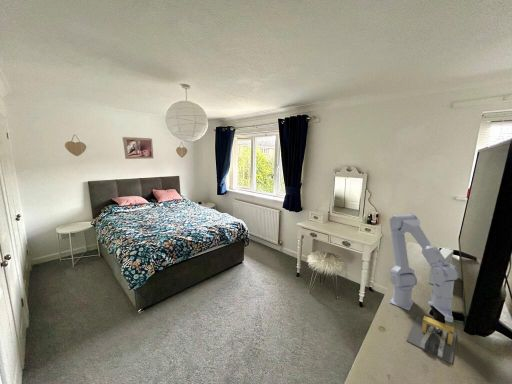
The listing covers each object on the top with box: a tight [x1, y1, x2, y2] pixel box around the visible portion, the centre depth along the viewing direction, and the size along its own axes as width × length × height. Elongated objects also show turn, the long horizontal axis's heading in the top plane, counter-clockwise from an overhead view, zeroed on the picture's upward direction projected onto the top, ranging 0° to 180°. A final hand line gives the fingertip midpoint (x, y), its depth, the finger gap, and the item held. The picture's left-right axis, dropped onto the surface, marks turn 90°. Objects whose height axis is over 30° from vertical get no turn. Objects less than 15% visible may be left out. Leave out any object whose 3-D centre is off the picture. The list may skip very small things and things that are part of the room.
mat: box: [406, 316, 458, 365], centre depth 83 cm, size 18×13×1 cm
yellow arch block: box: [422, 315, 455, 345], centre depth 82 cm, size 3×9×6 cm, turn 43°
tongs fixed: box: [434, 328, 447, 359], centre depth 80 cm, size 16×3×2 cm, turn 133°
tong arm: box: [420, 326, 434, 352], centre depth 81 cm, size 12×2×2 cm, turn 128°
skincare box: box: [427, 247, 454, 286], centre depth 121 cm, size 21×6×16 cm, turn 126°
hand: (438, 325), depth 84 cm, fingers closed
